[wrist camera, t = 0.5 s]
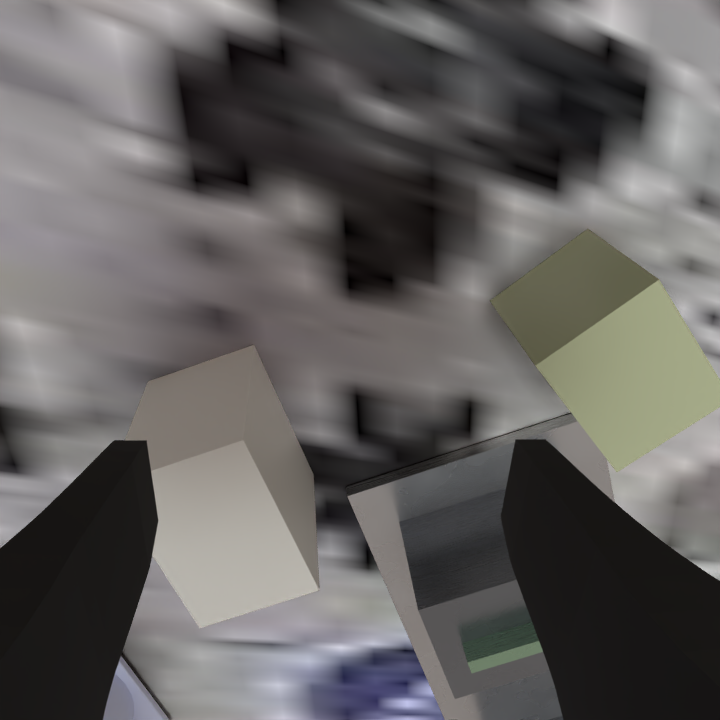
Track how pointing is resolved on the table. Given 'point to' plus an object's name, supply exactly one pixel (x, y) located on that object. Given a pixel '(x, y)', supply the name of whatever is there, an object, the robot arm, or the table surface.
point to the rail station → (467, 572)
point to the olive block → (611, 347)
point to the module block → (228, 489)
